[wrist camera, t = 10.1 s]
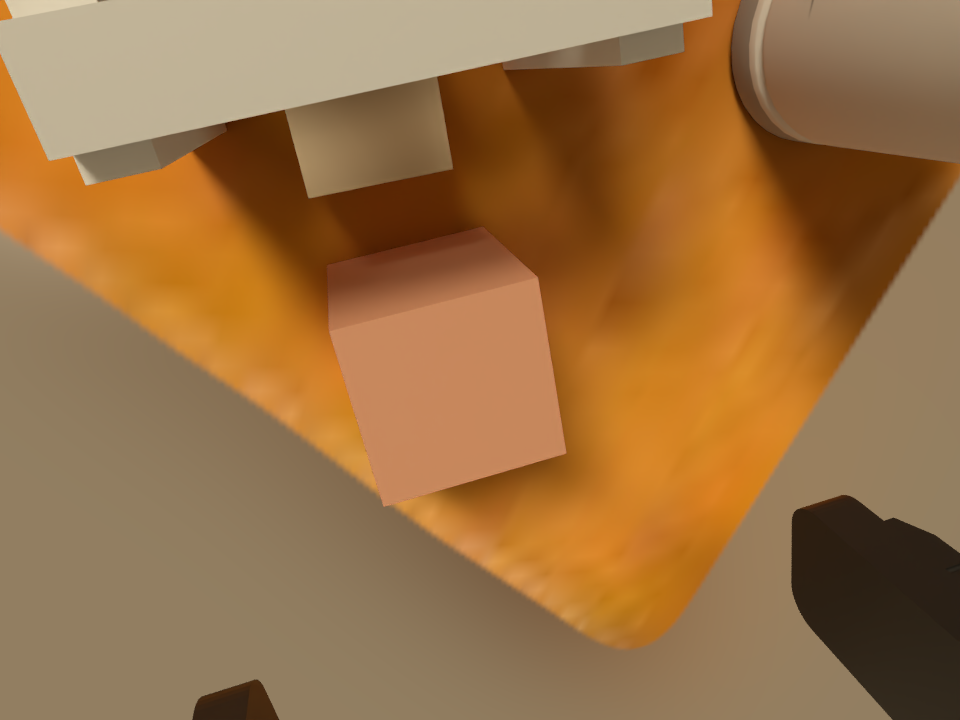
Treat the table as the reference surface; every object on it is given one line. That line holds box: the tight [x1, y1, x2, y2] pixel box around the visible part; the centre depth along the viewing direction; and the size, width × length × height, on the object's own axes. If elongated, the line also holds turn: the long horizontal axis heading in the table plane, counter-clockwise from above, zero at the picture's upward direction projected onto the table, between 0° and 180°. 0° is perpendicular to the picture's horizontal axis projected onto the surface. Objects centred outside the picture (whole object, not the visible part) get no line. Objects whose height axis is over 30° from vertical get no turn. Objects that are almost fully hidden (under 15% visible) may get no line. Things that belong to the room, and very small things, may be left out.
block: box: [327, 227, 567, 507], centre depth 19 cm, size 5×5×6 cm
